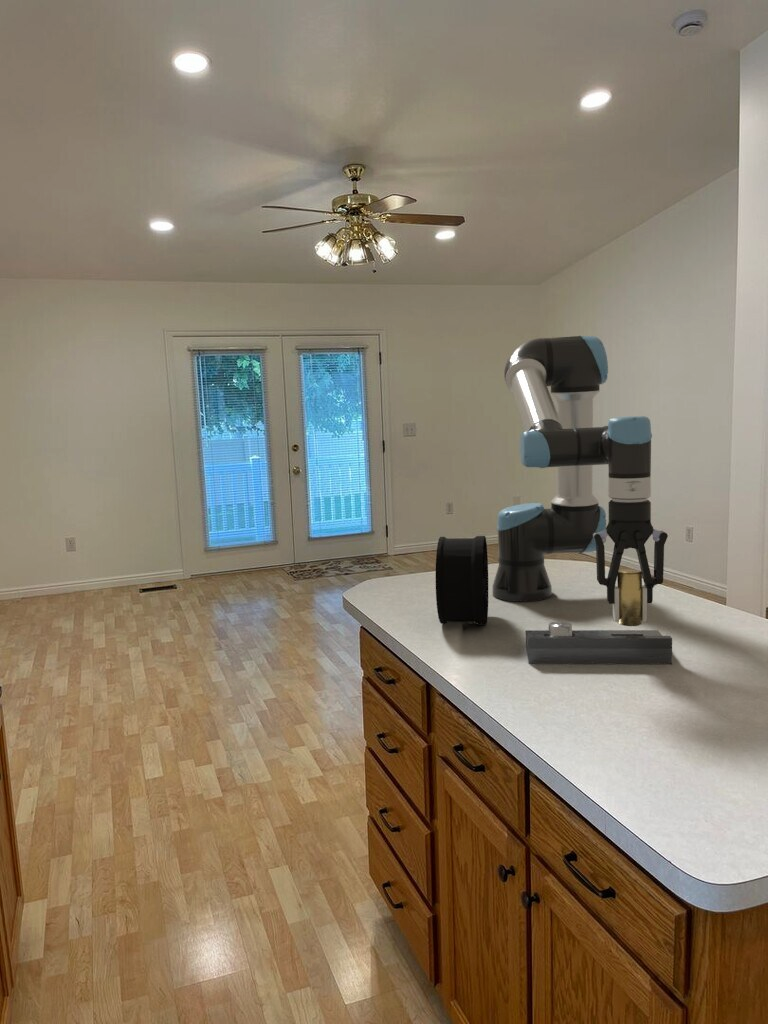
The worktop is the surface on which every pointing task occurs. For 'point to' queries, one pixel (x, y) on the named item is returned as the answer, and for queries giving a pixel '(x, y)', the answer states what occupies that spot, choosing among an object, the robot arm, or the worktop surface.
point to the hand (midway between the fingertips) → (629, 619)
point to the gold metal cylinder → (630, 597)
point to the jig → (599, 647)
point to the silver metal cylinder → (560, 628)
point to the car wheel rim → (462, 580)
